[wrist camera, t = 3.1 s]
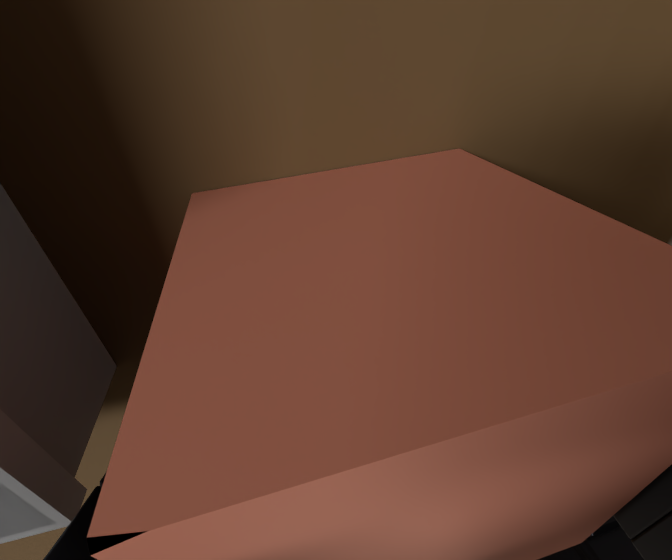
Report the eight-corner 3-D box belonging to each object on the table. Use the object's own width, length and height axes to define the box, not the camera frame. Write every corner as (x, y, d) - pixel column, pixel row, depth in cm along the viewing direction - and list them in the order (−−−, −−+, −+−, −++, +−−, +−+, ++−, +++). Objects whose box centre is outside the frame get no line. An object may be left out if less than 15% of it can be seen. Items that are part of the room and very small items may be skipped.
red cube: (434, 331, 11) (581, 543, 6) (258, 375, 10) (276, 658, 6) (459, 148, 8) (836, 320, 3) (192, 193, 7) (81, 550, 2)
